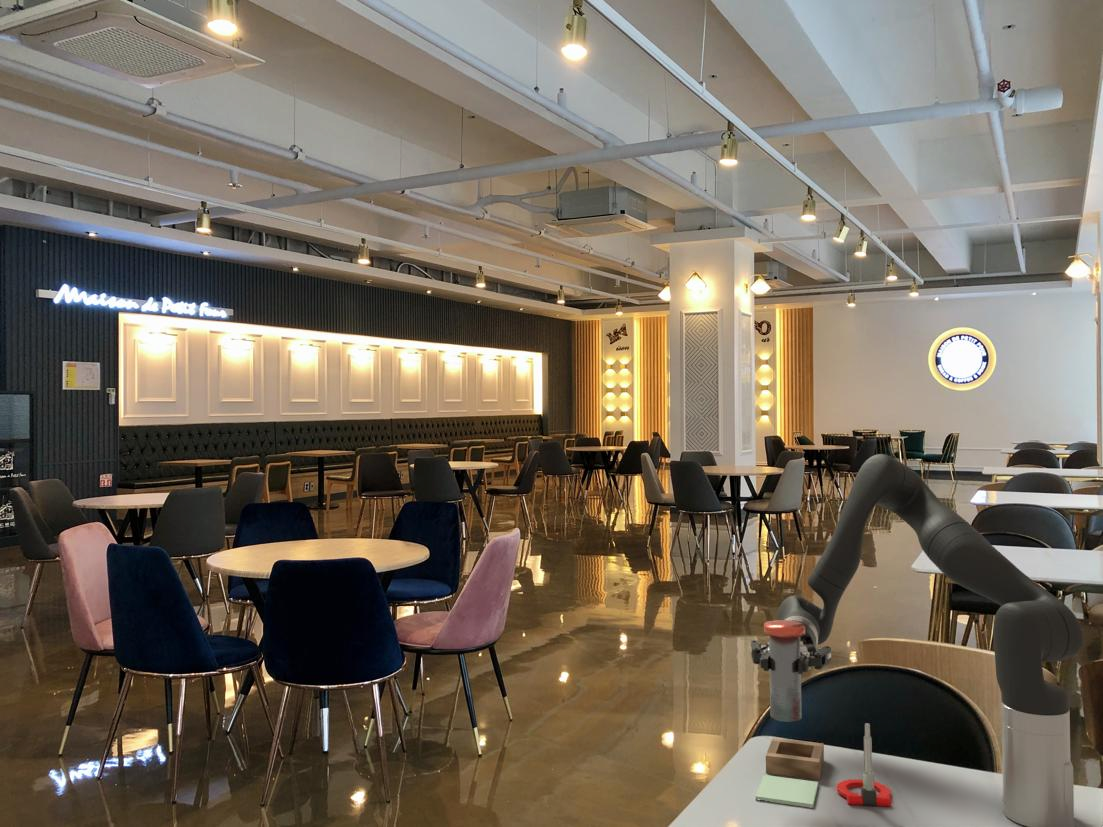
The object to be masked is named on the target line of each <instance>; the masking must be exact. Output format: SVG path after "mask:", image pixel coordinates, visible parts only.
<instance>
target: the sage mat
mask: <svg viewBox="0 0 1103 827" xmlns="http://www.w3.org/2000/svg"><path fill="white" fill-rule="evenodd" d="M818 787H819V781H814V780H805V779H798V778H791V777H790V778H789V777H782V776H774V775H770V774H769V775H767V774H763V776H762V778H761V781H760V783H759V785H758V788H757V791H756V794H755V800H756V799H760V800H767V801H770V802H769V803H775V804H776V803H777V804H783V805H788V806H796V807H803V808H812V809H813V808H814V805H815V801H816V796H817V792H818ZM760 800H759V801H760ZM767 801H766V802H767Z"/></svg>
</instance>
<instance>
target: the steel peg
mask: <svg viewBox="0 0 1103 827" xmlns="http://www.w3.org/2000/svg"><path fill="white" fill-rule="evenodd" d="M763 632H764V634H766V635H768V642H769V661H770V669H769V707H770V708H769V709H770V710H769V714H770V716H769V717H771V719H774V720H776V721H779V722H786V723H791V722H793V723H794V722H797V721H800V720H801V719H802V674H798V661H799V658H800V657H801V655H800V636H803V635H804V634H805V625H804V624H803V623H800V622H796V621H789V620H777V619H774V620H768V621H765V622H764V623H763Z"/></svg>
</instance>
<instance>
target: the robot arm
mask: <svg viewBox="0 0 1103 827" xmlns="http://www.w3.org/2000/svg"><path fill="white" fill-rule="evenodd" d="M876 505H879V506H880V507H883V508H884V509H886V510H888V511H890V512H892V513H893V514H895V515H896V516H898V517H899V518H900V519H901V520H903V522H905V523H906V524H907V525H908V526H910V528H911V529H913V531H914V532H915V534H916V536H917V538H918V543H919V545H920V547H921V550H922V551H923V552H924V554H925V555H926V556H927V558H928V559H929V560H930V561H931V562H932V563H933V564H934V565H935V566H936V567H937V568H938V570H939V571H941V573H942V574H944V575H945V577H947V578H948V579H949V580H950V581H952V582H954V583H955V584H957V585H958V586H961V587H962V588H964V589H965V590H968V591H971V592H972V593H975V594H976V595H979V596H982V597H984V598H986V599H988V600H990V601H992V602H994V603H996V604H997V605H999V606H1000V607H999V608H998V610H996V613H995V615H994V619H993V627H992V628H993V629H992V631H993V632H992V634H993V635H992V636H993V648H994V649H993V651H994V661H995V662H994V663H995V674H996V681H997V684H998V687H999V690H1000V695H1001V742H1002V744H1001V746H1002V749H1001V750H1002V752H1001V753H1002V760H1001V761H1002V804H1003V805H1002V806H1003V808H1002V810H1003V814H1004V815H1005V817H1006V818H1008V819H1010V820H1011V821H1013V822H1015V823H1017V824H1019V825H1022V826H1025V827H1075V804H1074V803H1075V802H1074V796H1075V794H1074V792H1075V790H1074V788H1075V787H1074V766H1073V763H1072V761H1071V725H1070V724H1071V723H1070V722H1071V721H1070V720H1071V719H1070V718H1071V717H1070V714H1071V713H1070V712H1071V711H1070V705H1071V704H1070V695H1069V692H1068V690H1067V689H1065V688H1064V687H1063V686H1061V685H1059V684H1057V683H1054V682H1051V681H1048V680H1046V679H1045V677H1044V671H1043V670H1044V669H1043V663H1048V662H1056V661H1057V662H1058V661H1063V660H1064V661H1065V660H1068V659H1070V658H1074V657H1075V656H1076V655H1078V654H1079V653H1080V651H1082V649H1083V647H1084V633H1083V632H1084V631H1083V628H1082V626H1081V623H1080V621H1079V620H1078V618H1077V617H1076V615H1075V613H1074V612H1073V611H1072V610H1071V609H1070V608H1069V606H1067V604H1065V603H1064V602H1062V601H1061V599H1059V598H1058V597H1056V596H1054V594H1052V593H1051V592H1049V591H1048V590H1047V589H1046V588H1044V587H1042V586H1041V585H1040V584H1038V583H1037V582H1036V581H1034V580H1033V579H1031V578H1030V577H1029V576H1028V575H1026V574H1025V573H1024V572H1023V571H1022V570H1021V569H1019V568H1018V567H1017V566H1016V565H1015V564H1014V563H1013V562H1011V561H1010V560H1009V559H1008V558H1007V557H1006V556H1004V554H1003V553H1001V551H999V550H998V549H996V548H995V547H994V546H993V545H992V544H991V543H990V542H989V541H988V539H986V537H985V536H984V535H983V534H981V533H980V532H979V531H978V530H977V529H976V528H975V527H974V526H972V524H970V523H969V522H968V521H966V519H964V518H963V517H962V516H960V514H958V513H957V512H955V511H954V510H953V509H951V508H950V507H949V506H947V504H946V505H945V503H943V502H942V501H941V500H940V499H939V498H938V497H937V496H936V495H935V493H934V492H933V491H932V489H930V487H929V486H928V485H927V484H926V482H925V481H924V480H923V479H922V477H921V476H920V475H919V474H918V473H917V472H916V471H915V470H914V469H912V468H911V467H909V466H908V465H907V464H904V463H903V462H901V461H899V460H898V459H896V458H895V457H892V456H890V455H888V454H884V453H878V454H874V455H872V456H870V457H869V458H868V459H866V460H865V461H864V462H863V464H862V465H861V467H860V469H859V470H858V472H857V473H856V476H855V478H854V481H853V482H852V485H851V488H850V490H849V492H848V496H847V498H846V500H845V502H844V505H843V508H842V510H841V513H840V516H839V519H838V521H837V524H836V526H835V529H834V531H833V534H832V536H831V537H830V539H829V542H828V543H827V545H826V547H825V549H824V551H823V553H822V554H821V556H820V557H819V559H818V561H817V563H816V564H815V565H814V567H813V570H811V573H810V575H809V576H808V579H807V586H808V587H809V589H811V590H812V591H813V592H814V593H816V594H817V595H818V597H819V598H820V599H821V600H822V602H823V608H820V606H817V605H816V604H815V603H813V602H810V601H809V600H808V599H806V598H804V597H802V596H800V595H797V594H796V595H794V594H793V595H790V596H788V597H787V598H785V599H784V600H783V601H782V602H781V605H780V606H779V608H778V612H777V616H776V617H777V619H776V620H789V621H796V622H800V623H803V624H804V625H805V634H804V635H803V636H800V655H801V657H800V658H799V661H798V674H801V676H802V675H804V673H807V672H809V670H811V667H813V669H814V670H822V669H824V668H825V667H826V666H828V665H829V664H830V663H831V662H832V646H829V645H826V646H823V647H819V648H818V646H819V645H822V644H823V643H825V642H826V641H827V640H828V639H829V637H830V636H831V633H832V629H833V624H834V620H835V616H836V613H837V609H838V606H839V604H840V601H841V598H842V597H843V595H844V592H845V591H846V589H847V587H848V586H849V584H850V583H851V581H852V579H853V578H854V576H855V574H856V573H857V571H858V568H859V567H860V563H861V559H862V553H863V544H864V543H863V541H864V534H865V529H866V525H867V521H868V519H869V517H870V516H871V515H870V514H872V513H871V512H872V511H873V510H874V509H875V507H876ZM750 656H751V660H752V663H753V664H755V665H759V667H760V668H761V669H763V672H770V661H769V641H767V642H766V644H762V643H761V642H759V640H756V639H753V640H750Z"/></svg>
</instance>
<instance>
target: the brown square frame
mask: <svg viewBox="0 0 1103 827" xmlns="http://www.w3.org/2000/svg"><path fill="white" fill-rule="evenodd" d="M824 745H825V744H824V743H823V742H821V743H820V742H813V741H804V740H797V739H795V740H794V739H785V738H779V737H772V738H771V742H770V744H769V746H768V750H767V752H766V754H765V773H766V774H772V775H778V776H779V775H781V776H789V777H795V778H803V779H811V780H818V781H820V778H821V776H822V771H823V767H824V761H825V748H824V747H825V746H824Z"/></svg>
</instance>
